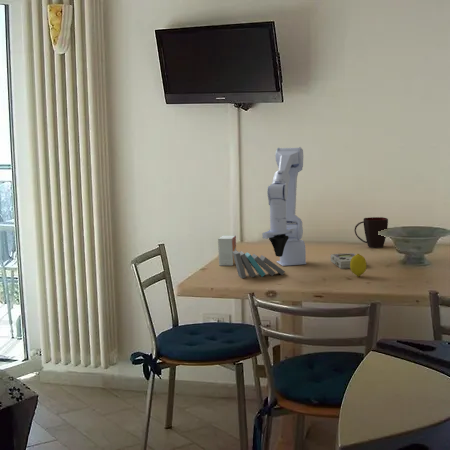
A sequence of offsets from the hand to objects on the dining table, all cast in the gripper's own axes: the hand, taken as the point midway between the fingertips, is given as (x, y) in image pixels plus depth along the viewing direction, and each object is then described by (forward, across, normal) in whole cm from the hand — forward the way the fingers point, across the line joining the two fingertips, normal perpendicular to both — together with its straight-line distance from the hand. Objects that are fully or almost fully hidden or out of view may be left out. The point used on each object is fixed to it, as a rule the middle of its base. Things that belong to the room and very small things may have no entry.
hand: (279, 256), depth 243 cm
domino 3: (+6, +2, -1) cm, 7 cm away
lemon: (+7, -13, +24) cm, 29 cm away
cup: (+7, -64, -5) cm, 64 cm away
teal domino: (+6, +6, -3) cm, 9 cm away
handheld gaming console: (+7, -28, +9) cm, 30 cm away
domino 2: (+6, +8, -5) cm, 12 cm away
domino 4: (+6, -1, 0) cm, 6 cm away
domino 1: (+6, +12, -7) cm, 15 cm away
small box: (+7, -2, -28) cm, 29 cm away
